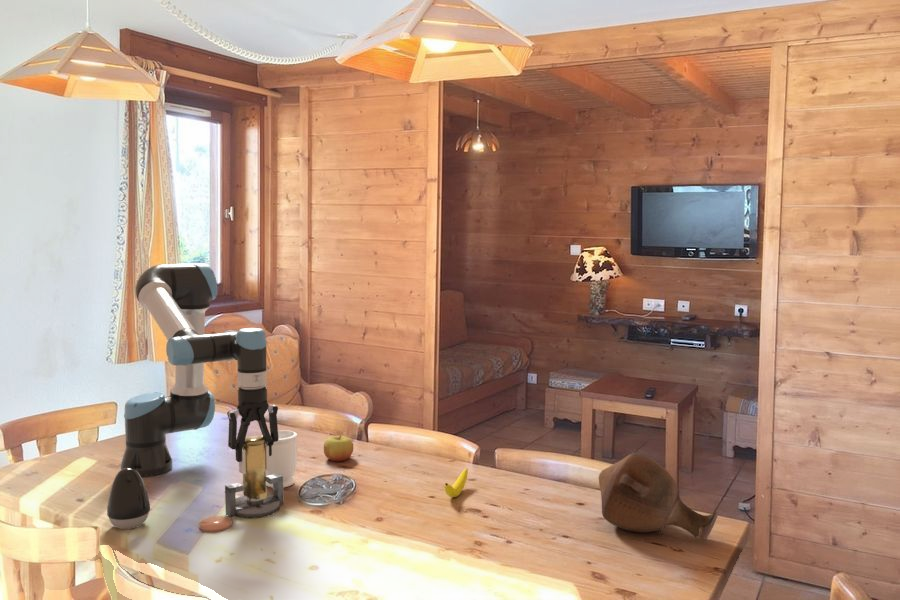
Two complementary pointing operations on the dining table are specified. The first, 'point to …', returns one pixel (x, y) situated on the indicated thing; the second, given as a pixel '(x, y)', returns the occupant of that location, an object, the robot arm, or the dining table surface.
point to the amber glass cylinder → (255, 468)
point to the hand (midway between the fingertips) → (254, 470)
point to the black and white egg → (128, 500)
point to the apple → (338, 448)
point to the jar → (283, 457)
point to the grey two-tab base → (254, 500)
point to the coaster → (215, 523)
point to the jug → (647, 498)
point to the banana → (457, 485)
